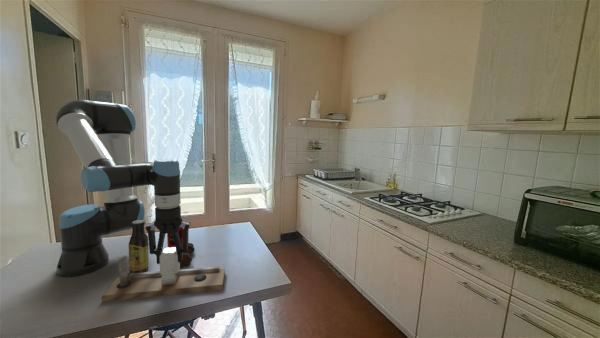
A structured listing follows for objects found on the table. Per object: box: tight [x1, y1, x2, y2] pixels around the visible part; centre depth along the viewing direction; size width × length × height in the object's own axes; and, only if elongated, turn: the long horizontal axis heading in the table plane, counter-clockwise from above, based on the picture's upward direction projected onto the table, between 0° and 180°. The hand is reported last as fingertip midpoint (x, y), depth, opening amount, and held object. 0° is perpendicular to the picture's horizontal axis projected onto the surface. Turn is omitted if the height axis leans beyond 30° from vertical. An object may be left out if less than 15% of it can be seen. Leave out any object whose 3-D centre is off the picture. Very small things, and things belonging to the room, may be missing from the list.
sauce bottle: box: [128, 219, 150, 274], centre depth 91 cm, size 6×6×20 cm
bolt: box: [180, 242, 195, 268], centre depth 103 cm, size 6×5×15 cm
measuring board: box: [101, 254, 226, 302], centre depth 83 cm, size 36×10×12 cm, turn 103°
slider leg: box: [161, 247, 179, 286], centre depth 82 cm, size 4×6×11 cm, turn 13°
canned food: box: [166, 225, 184, 248], centre depth 112 cm, size 8×8×11 cm
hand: (170, 271), depth 83 cm, fingers closed on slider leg, 4 cm apart
